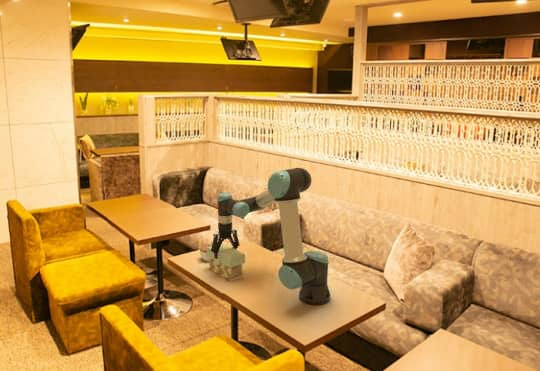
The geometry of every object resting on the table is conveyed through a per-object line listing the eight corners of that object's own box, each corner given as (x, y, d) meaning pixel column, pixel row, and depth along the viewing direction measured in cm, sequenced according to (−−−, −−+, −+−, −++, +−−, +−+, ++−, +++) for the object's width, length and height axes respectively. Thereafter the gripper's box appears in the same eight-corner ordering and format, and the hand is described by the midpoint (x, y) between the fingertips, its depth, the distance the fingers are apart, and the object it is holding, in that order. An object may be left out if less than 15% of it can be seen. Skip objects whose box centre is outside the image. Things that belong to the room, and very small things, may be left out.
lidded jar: (210, 264, 263) (210, 249, 261) (196, 260, 268) (195, 245, 266) (222, 258, 272) (221, 243, 270) (207, 255, 277) (207, 240, 275)
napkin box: (242, 277, 247) (242, 263, 245) (230, 281, 242) (230, 266, 240) (221, 265, 262) (221, 252, 260) (209, 269, 257) (209, 255, 255)
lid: (245, 263, 245) (245, 254, 244) (229, 267, 239) (229, 258, 238) (221, 251, 261) (221, 243, 260) (207, 255, 255) (206, 247, 254)
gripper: (238, 216, 255) (238, 254, 260) (203, 224, 241) (204, 264, 246) (246, 219, 250) (246, 258, 255) (211, 227, 236) (212, 268, 240)
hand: (225, 261), depth 250 cm, fingers closed on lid, 10 cm apart
